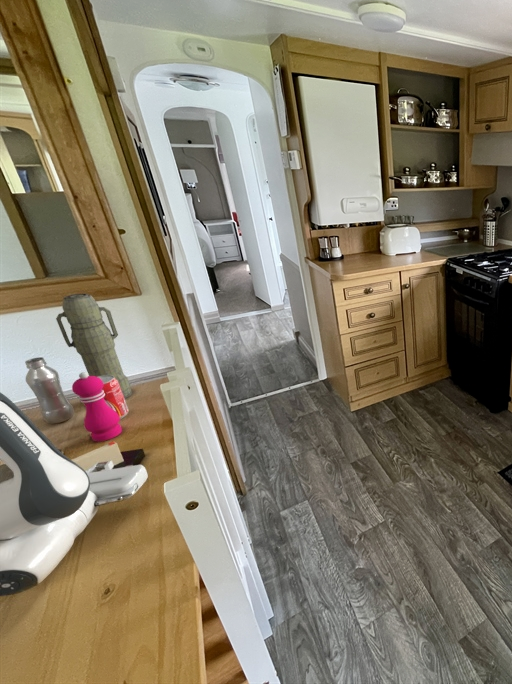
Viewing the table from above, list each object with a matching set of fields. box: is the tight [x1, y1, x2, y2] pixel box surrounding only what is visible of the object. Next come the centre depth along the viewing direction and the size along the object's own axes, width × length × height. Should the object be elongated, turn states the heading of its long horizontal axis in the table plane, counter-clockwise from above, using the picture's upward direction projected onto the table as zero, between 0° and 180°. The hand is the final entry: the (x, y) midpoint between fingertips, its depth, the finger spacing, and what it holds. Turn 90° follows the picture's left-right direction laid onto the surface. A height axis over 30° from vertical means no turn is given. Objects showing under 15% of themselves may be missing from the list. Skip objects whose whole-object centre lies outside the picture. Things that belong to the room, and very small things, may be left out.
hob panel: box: [112, 448, 146, 469], centre depth 91 cm, size 15×14×3 cm
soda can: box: [98, 375, 130, 420], centre depth 112 cm, size 7×7×13 cm
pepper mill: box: [71, 371, 123, 442], centre depth 103 cm, size 7×7×20 cm
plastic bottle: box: [24, 357, 75, 424], centre depth 109 cm, size 6×7×20 cm
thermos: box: [55, 293, 133, 400], centre depth 119 cm, size 9×12×35 cm
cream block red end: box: [71, 440, 124, 471], centre depth 89 cm, size 9×1×6 cm, turn 149°
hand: (105, 464), depth 87 cm, fingers closed
